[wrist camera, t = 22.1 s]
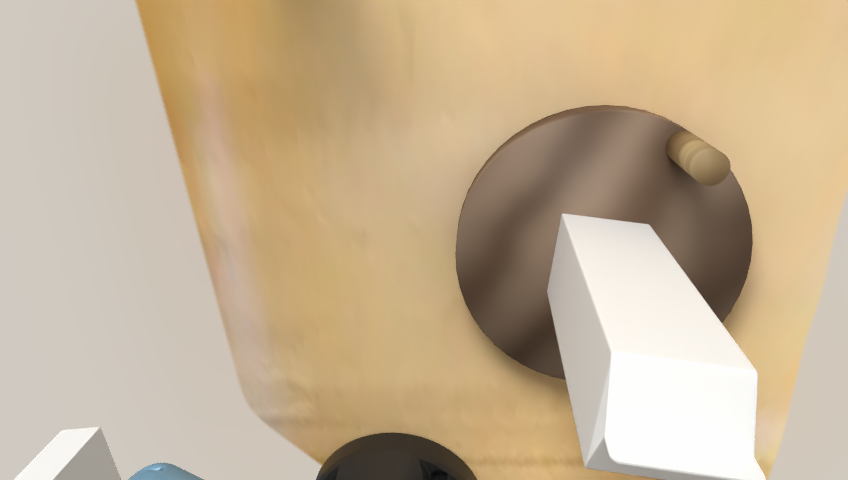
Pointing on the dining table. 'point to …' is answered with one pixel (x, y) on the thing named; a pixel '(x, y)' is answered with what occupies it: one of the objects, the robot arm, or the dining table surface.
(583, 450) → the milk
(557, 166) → the turntable
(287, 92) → the dining table surface
